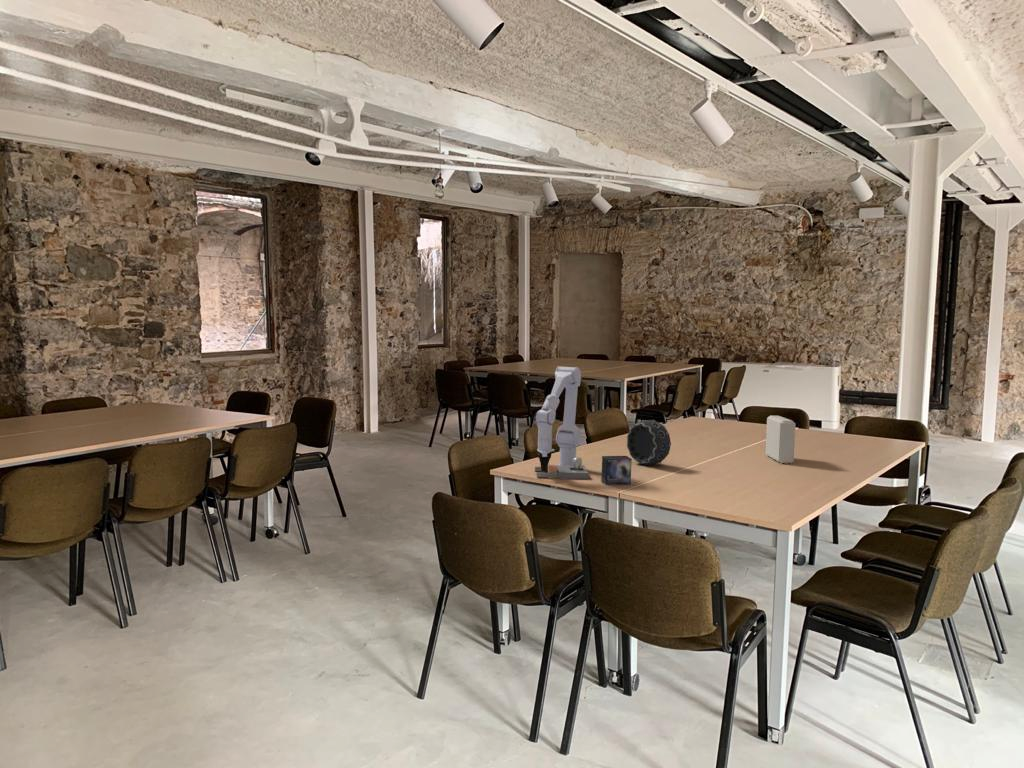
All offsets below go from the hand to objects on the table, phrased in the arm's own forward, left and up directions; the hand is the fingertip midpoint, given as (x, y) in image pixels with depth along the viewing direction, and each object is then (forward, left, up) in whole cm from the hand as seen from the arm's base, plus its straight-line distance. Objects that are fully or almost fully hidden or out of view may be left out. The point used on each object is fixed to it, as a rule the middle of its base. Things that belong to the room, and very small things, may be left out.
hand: (544, 471), depth 311 cm
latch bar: (0, +4, -1) cm, 4 cm away
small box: (+15, +28, -2) cm, 31 cm away
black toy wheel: (-25, +49, -2) cm, 55 cm away
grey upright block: (-40, +115, -2) cm, 121 cm away
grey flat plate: (0, +7, -1) cm, 7 cm away
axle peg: (0, +14, -2) cm, 14 cm away
